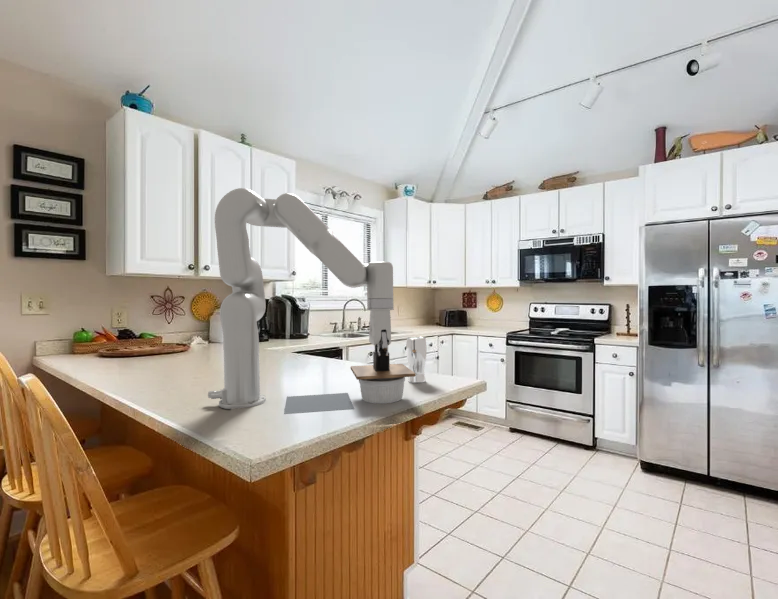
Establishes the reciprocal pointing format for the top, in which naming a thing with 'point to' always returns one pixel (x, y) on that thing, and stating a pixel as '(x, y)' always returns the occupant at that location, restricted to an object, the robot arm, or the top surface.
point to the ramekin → (382, 389)
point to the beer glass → (416, 358)
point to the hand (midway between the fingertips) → (381, 368)
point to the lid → (373, 373)
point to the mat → (318, 403)
